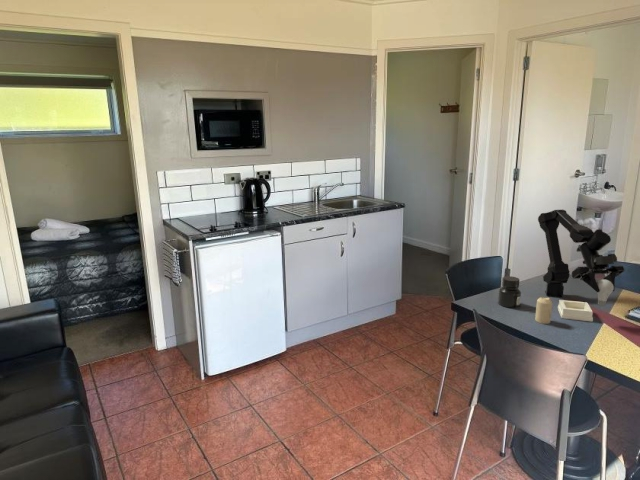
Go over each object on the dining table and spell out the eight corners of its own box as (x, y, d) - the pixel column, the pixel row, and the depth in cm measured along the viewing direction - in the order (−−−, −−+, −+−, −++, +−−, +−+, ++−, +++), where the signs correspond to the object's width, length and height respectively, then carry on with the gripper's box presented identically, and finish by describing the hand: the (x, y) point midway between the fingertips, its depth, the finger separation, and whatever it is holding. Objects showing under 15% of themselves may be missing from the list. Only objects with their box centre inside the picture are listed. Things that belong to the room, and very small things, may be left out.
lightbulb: (588, 303, 178) (592, 277, 175) (603, 303, 178) (608, 277, 175) (598, 309, 172) (602, 282, 169) (614, 309, 172) (618, 282, 169)
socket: (561, 318, 181) (562, 308, 180) (557, 308, 191) (558, 299, 190) (592, 321, 177) (593, 312, 176) (586, 311, 187) (588, 302, 186)
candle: (549, 319, 180) (551, 296, 178) (551, 324, 175) (553, 300, 172) (534, 317, 182) (536, 294, 179) (535, 323, 177) (538, 299, 174)
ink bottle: (523, 308, 191) (525, 282, 188) (502, 308, 191) (504, 282, 189) (514, 300, 201) (516, 275, 198) (494, 300, 201) (496, 275, 198)
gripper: (579, 247, 172) (594, 284, 164) (625, 245, 173) (642, 282, 166) (565, 260, 182) (578, 295, 174) (608, 258, 183) (623, 293, 175)
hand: (605, 291), depth 172 cm, fingers closed on lightbulb, 6 cm apart
